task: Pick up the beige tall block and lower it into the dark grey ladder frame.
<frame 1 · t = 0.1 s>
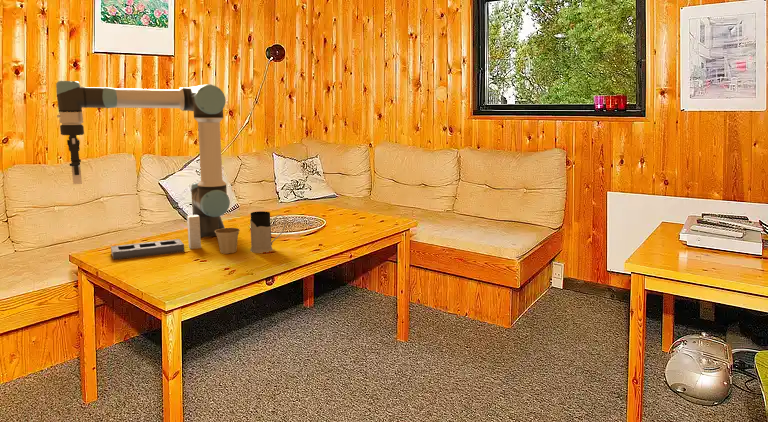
hand: (77, 181, 205), 28 cm above the table, tool pointing down, fingers open, 13 cm apart
flower pot: (228, 252, 215), on the table
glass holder: (268, 249, 219), on the table
dark grey ladder frame: (148, 252, 212), on the table
beige tall block: (195, 247, 221), on the table
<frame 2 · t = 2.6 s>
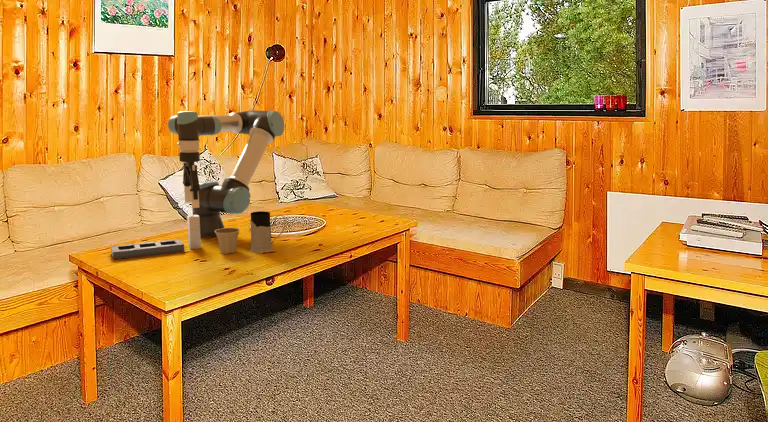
hand: (192, 205, 218), 17 cm above the table, tool pointing down, fingers open, 13 cm apart
nothing on the table moved.
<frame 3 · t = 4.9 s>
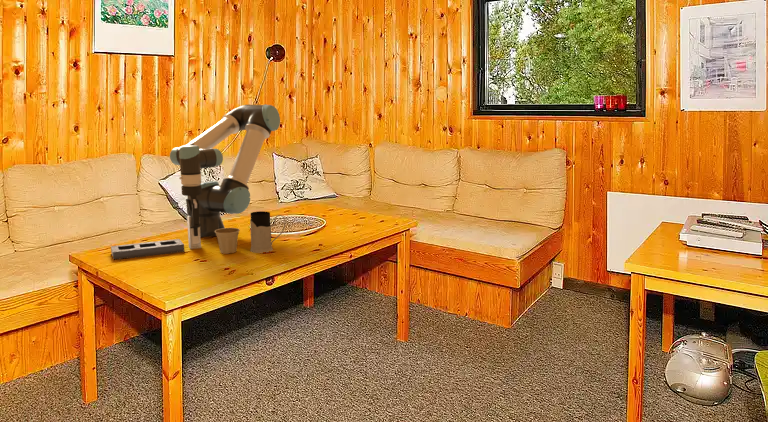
hand: (194, 242, 221), 2 cm above the table, tool pointing down, fingers closed on beige tall block, 4 cm apart
beige tall block: (194, 247, 221), on the table, touching gripper
everything else where it was.
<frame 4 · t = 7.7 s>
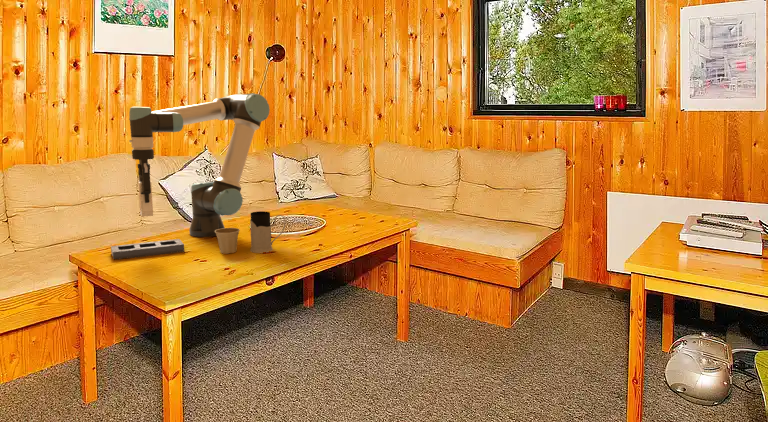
hand: (146, 209, 209), 17 cm above the table, tool pointing down, fingers closed on beige tall block, 4 cm apart
beige tall block: (146, 215, 210), point 15 cm above the table, touching gripper
everything else where it was.
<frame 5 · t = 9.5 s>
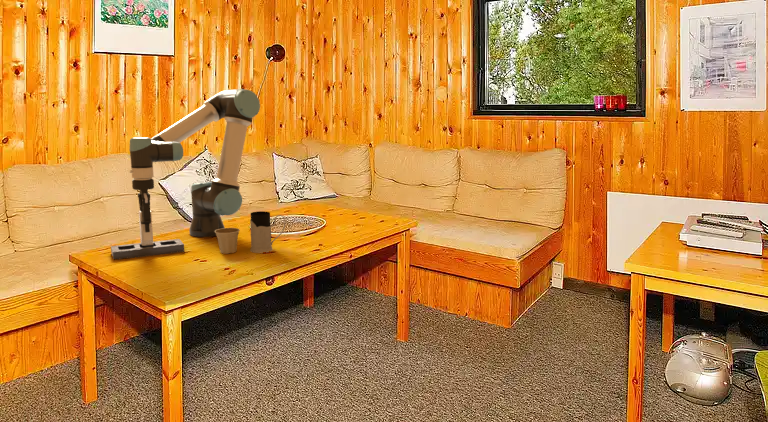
hand: (146, 238, 211), 6 cm above the table, tool pointing down, fingers closed on beige tall block, 4 cm apart
beige tall block: (147, 244, 212), point 3 cm above the table, touching gripper
everything else where it was.
when the fingers open (4 cm above the table, at t = 10.7 s): beige tall block drops 2 cm, resting in dark grey ladder frame.
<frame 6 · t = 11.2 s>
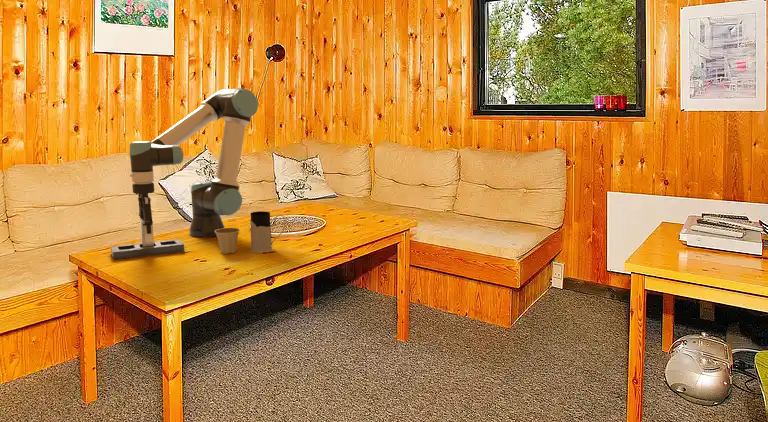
hand: (147, 238, 211), 6 cm above the table, tool pointing down, fingers open, 11 cm apart
beige tall block: (148, 252, 212), resting in dark grey ladder frame
everything else where it was.
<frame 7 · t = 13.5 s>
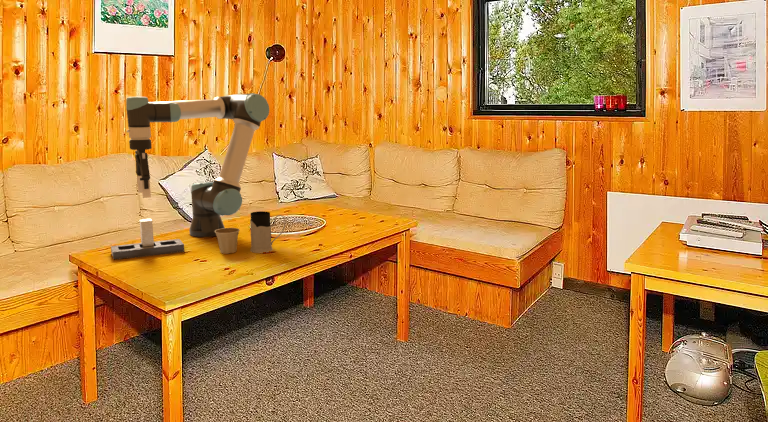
hand: (144, 195, 208), 23 cm above the table, tool pointing down, fingers open, 13 cm apart
nothing on the table moved.
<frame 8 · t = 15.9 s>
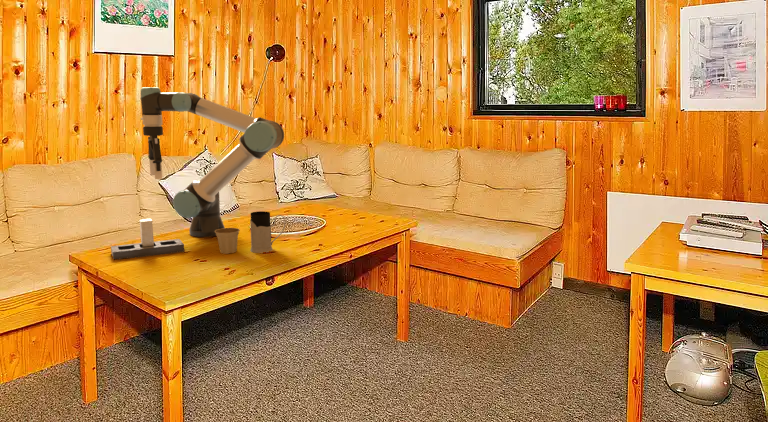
hand: (156, 177, 229), 27 cm above the table, tool pointing down, fingers open, 13 cm apart
nothing on the table moved.
at the end: beige tall block 0.0 cm off-centre on the dark grey ladder frame, point 0.0 cm above the dark grey ladder frame's base; beige tall block tilted 0°; the gripper is holding nothing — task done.
